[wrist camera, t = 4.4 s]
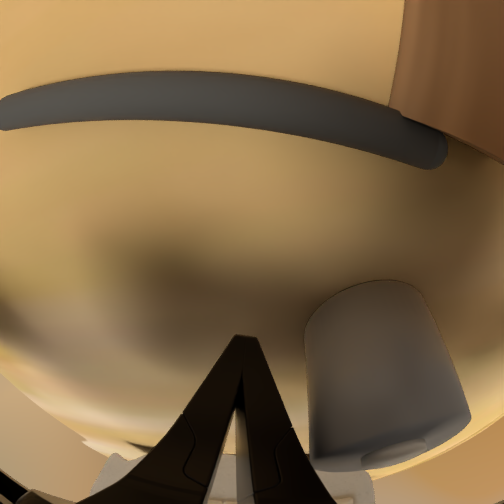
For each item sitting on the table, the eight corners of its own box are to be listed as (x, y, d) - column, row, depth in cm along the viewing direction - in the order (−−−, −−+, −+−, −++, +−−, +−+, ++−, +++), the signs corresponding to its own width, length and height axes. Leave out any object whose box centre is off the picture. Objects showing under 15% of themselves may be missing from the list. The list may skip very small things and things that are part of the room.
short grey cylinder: (290, 362, 11) (290, 482, 7) (326, 270, 9) (355, 440, 4) (391, 366, 11) (412, 467, 7) (446, 287, 9) (504, 408, 4)
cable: (11, 126, 6) (-12, 137, 5) (11, 94, 6) (-14, 102, 4) (426, 166, 6) (447, 182, 5) (437, 127, 6) (462, 136, 5)
